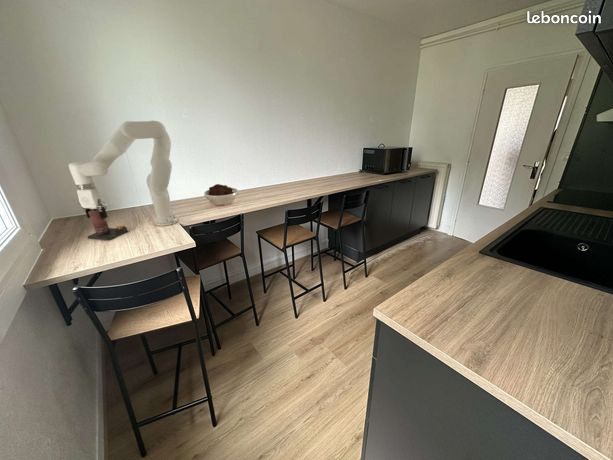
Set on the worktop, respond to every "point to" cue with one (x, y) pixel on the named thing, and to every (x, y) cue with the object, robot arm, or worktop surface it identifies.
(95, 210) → the can
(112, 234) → the scale
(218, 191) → the filled cream bowl
